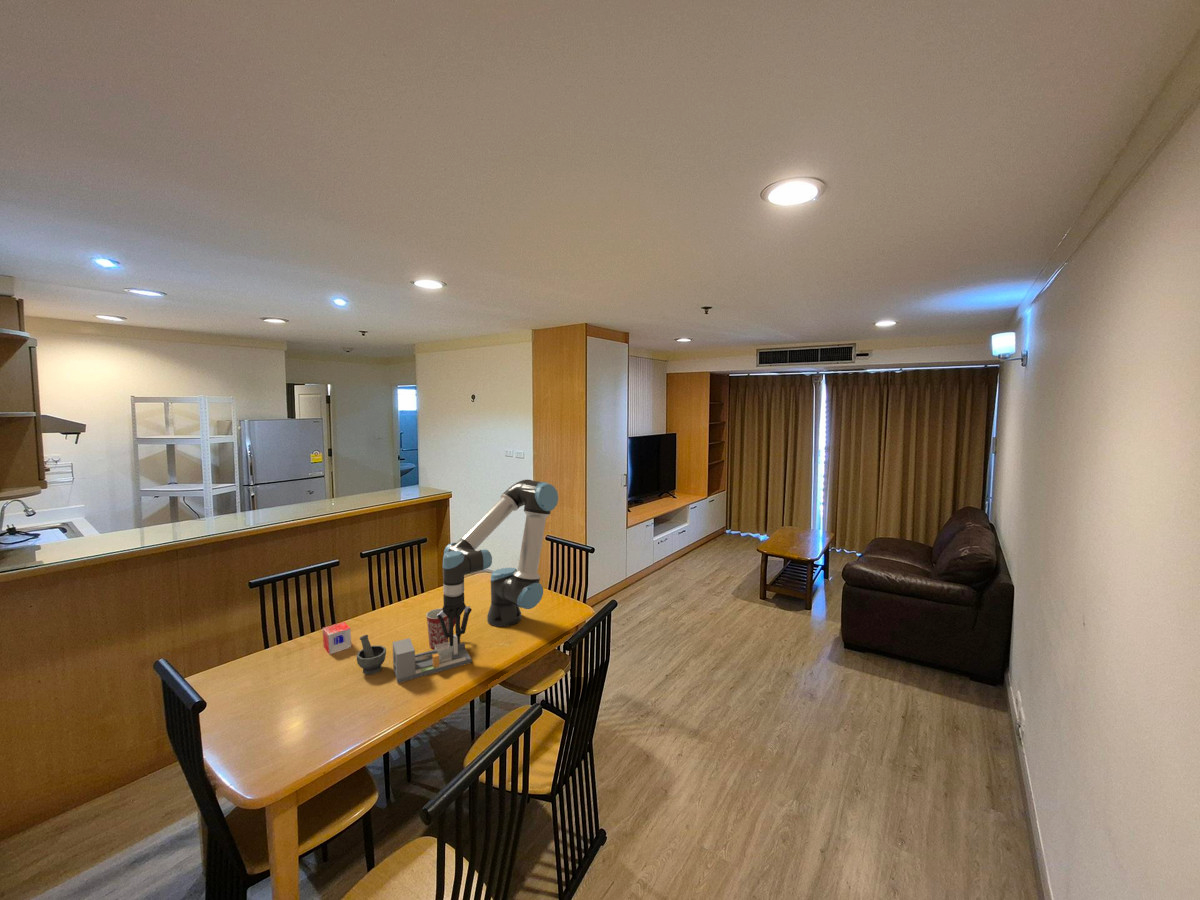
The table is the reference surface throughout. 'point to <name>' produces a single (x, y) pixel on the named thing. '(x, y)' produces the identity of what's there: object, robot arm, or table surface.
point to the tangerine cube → (435, 660)
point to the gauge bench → (412, 669)
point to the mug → (436, 628)
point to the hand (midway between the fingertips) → (454, 652)
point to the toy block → (336, 637)
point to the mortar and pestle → (370, 657)
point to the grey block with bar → (441, 649)
